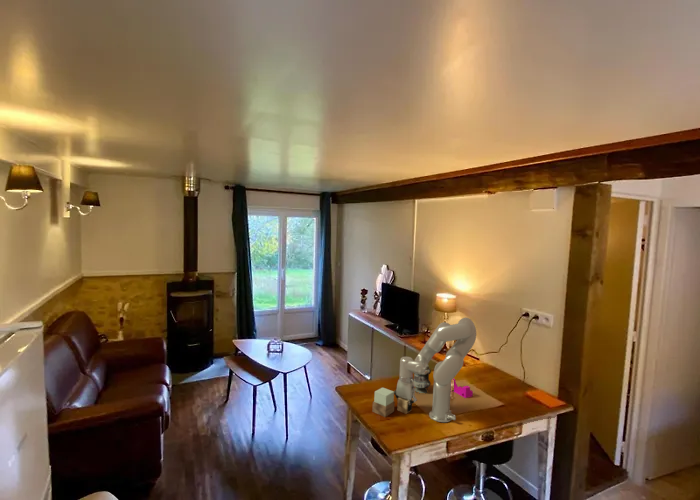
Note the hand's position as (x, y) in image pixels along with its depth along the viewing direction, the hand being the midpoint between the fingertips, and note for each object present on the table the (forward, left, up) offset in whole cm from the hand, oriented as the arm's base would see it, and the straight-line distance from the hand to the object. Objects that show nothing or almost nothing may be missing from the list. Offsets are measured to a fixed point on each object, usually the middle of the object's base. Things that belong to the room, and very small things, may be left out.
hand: (404, 408), depth 218 cm
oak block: (0, 0, -1) cm, 1 cm away
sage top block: (+8, +10, +5) cm, 14 cm away
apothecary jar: (+6, -30, -1) cm, 30 cm away
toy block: (-15, -45, -2) cm, 47 cm away
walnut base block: (+8, +10, -1) cm, 13 cm away
